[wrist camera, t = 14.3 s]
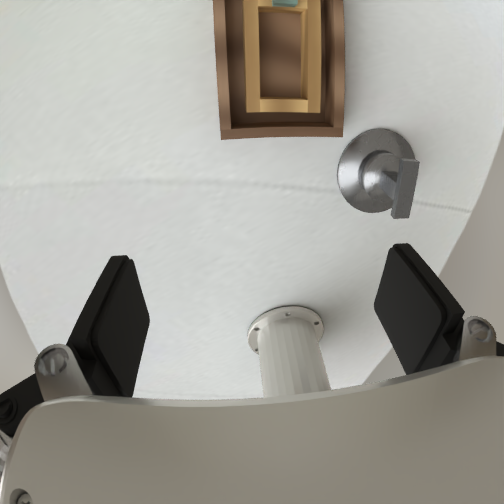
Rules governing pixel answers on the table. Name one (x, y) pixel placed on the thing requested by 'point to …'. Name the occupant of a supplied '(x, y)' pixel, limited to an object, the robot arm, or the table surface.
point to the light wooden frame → (309, 8)
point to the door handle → (378, 173)
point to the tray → (278, 72)
